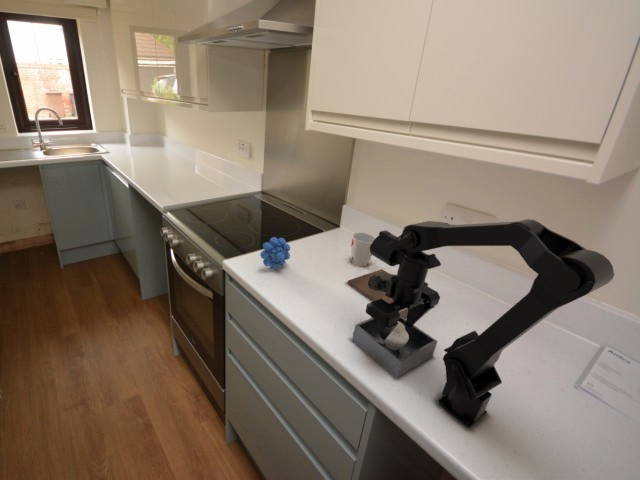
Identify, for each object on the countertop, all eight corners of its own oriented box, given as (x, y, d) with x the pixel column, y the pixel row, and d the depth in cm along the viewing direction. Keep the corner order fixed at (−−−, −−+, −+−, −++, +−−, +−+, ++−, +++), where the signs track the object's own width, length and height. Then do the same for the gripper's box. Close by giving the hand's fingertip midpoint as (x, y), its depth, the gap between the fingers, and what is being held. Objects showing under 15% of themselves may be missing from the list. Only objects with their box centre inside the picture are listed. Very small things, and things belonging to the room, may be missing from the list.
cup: (353, 254, 127) (358, 230, 123) (374, 262, 122) (380, 237, 118) (344, 262, 121) (348, 237, 117) (365, 271, 116) (371, 245, 112)
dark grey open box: (432, 356, 81) (437, 341, 79) (396, 378, 74) (400, 361, 72) (387, 323, 91) (391, 309, 89) (351, 340, 85) (355, 324, 83)
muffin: (373, 339, 84) (378, 316, 81) (393, 334, 86) (399, 312, 83) (390, 357, 79) (397, 334, 76) (411, 352, 81) (418, 328, 78)
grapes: (266, 279, 108) (268, 245, 104) (255, 269, 114) (257, 236, 109) (295, 271, 114) (299, 238, 109) (284, 261, 119) (287, 230, 114)
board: (435, 304, 100) (436, 300, 100) (399, 320, 93) (400, 316, 92) (381, 272, 116) (381, 269, 116) (347, 283, 108) (347, 280, 108)
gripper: (406, 251, 85) (393, 303, 91) (353, 268, 76) (342, 324, 82) (449, 272, 77) (431, 328, 83) (394, 294, 68) (379, 354, 74)
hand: (395, 332), depth 81 cm, fingers open, 9 cm apart
